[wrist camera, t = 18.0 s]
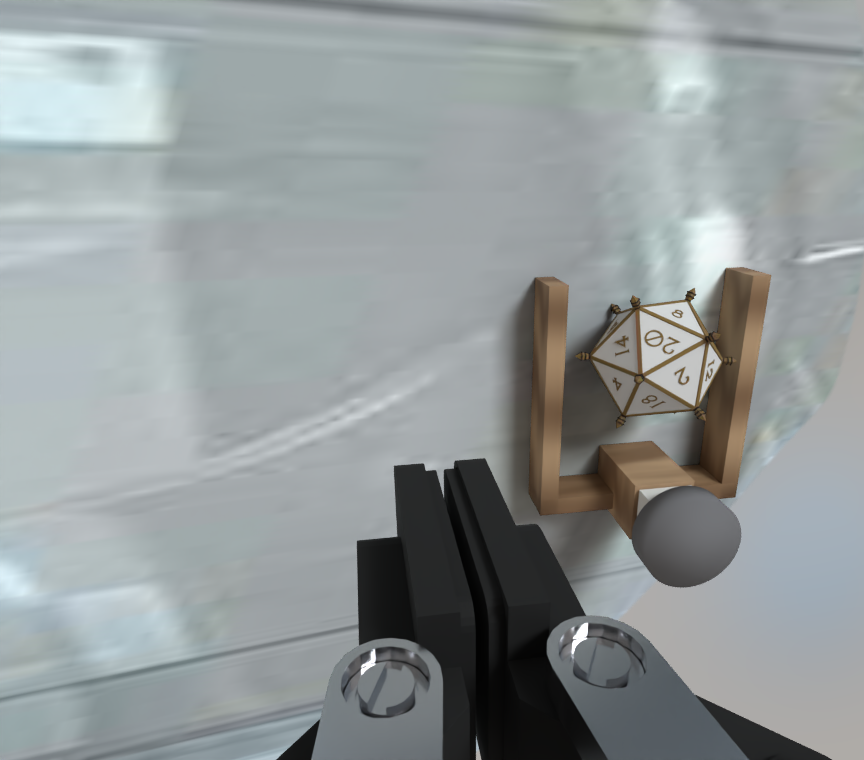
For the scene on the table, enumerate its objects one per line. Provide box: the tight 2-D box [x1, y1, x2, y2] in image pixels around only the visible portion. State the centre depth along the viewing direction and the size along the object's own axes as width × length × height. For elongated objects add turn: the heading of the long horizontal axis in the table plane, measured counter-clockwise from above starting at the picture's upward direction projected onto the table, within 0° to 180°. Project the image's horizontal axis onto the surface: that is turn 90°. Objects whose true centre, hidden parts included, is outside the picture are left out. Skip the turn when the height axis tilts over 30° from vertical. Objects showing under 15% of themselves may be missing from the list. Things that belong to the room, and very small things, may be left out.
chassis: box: [529, 267, 771, 539], centre depth 40 cm, size 16×14×8 cm
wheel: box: [632, 485, 741, 587], centre depth 38 cm, size 6×6×4 cm
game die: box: [575, 288, 736, 428], centre depth 39 cm, size 9×8×10 cm
